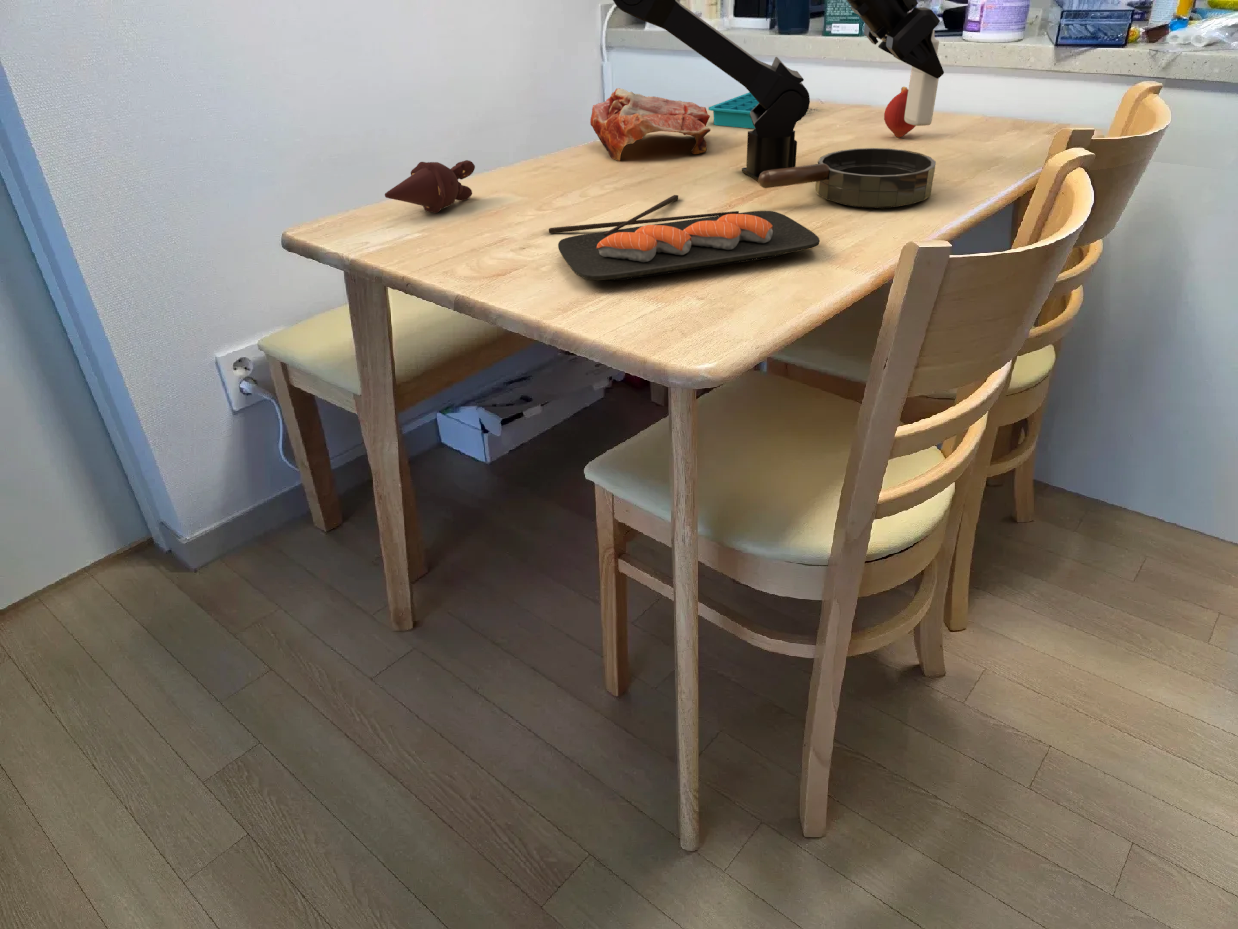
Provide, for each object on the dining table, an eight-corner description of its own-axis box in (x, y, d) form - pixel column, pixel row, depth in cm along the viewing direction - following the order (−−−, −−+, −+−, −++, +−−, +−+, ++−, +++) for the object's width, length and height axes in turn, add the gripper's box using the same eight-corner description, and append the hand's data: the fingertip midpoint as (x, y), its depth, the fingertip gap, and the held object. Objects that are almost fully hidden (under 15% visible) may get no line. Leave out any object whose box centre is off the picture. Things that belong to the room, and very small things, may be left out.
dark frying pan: (851, 217, 106) (855, 181, 103) (796, 187, 118) (799, 155, 116) (953, 202, 109) (959, 167, 107) (890, 175, 121) (894, 143, 119)
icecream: (403, 180, 106) (491, 166, 116) (369, 158, 109) (458, 146, 119) (401, 230, 111) (486, 212, 120) (368, 208, 114) (454, 192, 124)
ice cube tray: (705, 125, 156) (705, 108, 154) (755, 105, 169) (755, 89, 168) (760, 130, 150) (761, 112, 148) (807, 109, 163) (809, 93, 162)
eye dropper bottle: (897, 125, 119) (911, 31, 112) (906, 117, 123) (919, 26, 116) (929, 127, 117) (944, 32, 110) (936, 119, 121) (951, 27, 114)
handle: (762, 190, 107) (763, 173, 106) (755, 186, 109) (755, 169, 108) (832, 181, 110) (834, 164, 108) (824, 177, 111) (826, 160, 110)
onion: (913, 133, 143) (920, 82, 139) (920, 140, 138) (928, 89, 134) (879, 133, 144) (885, 84, 139) (884, 141, 139) (891, 90, 134)
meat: (659, 128, 155) (658, 70, 150) (739, 145, 141) (741, 81, 135) (569, 148, 145) (564, 86, 140) (644, 168, 131) (642, 101, 125)
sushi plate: (582, 296, 88) (579, 262, 86) (528, 217, 112) (525, 189, 110) (828, 259, 94) (832, 225, 92) (727, 191, 118) (727, 164, 116)
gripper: (935, -66, 99) (1008, 33, 105) (898, -69, 115) (963, 18, 120) (861, 11, 104) (935, 102, 110) (835, -2, 120) (900, 78, 125)
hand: (935, 72), depth 116 cm, fingers closed on eye dropper bottle, 5 cm apart
